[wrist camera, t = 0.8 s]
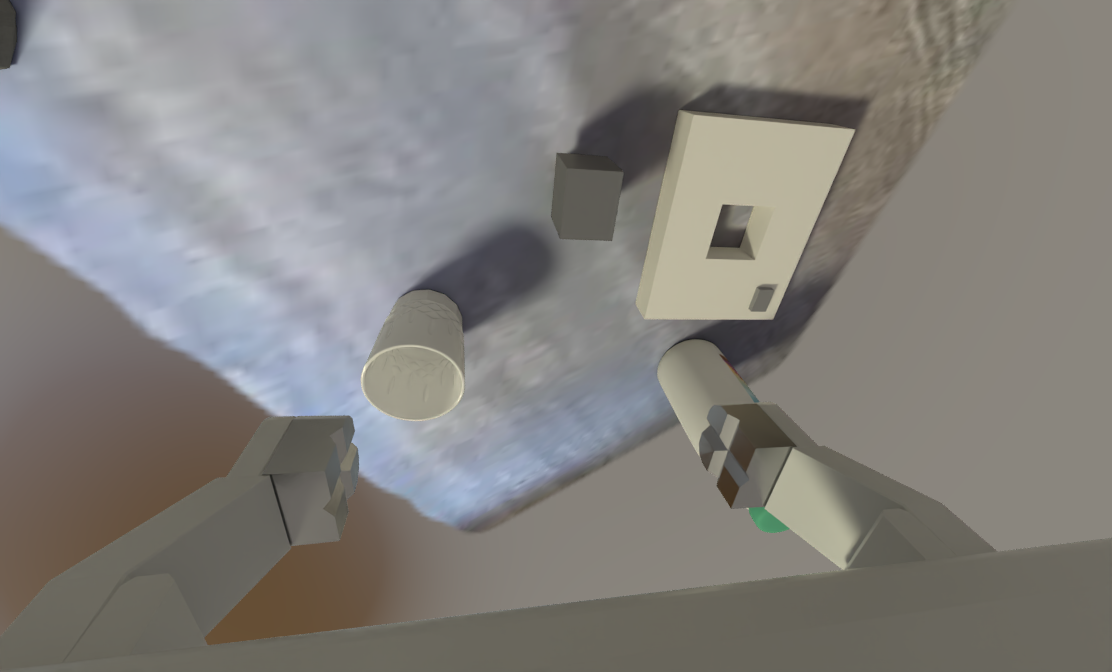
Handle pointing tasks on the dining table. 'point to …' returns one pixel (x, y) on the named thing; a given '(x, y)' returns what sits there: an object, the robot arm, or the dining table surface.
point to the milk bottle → (706, 397)
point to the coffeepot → (7, 33)
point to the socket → (736, 179)
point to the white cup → (417, 359)
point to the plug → (585, 196)
